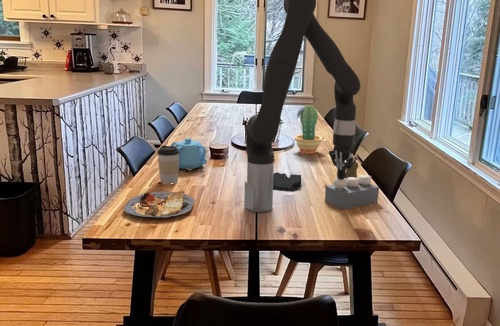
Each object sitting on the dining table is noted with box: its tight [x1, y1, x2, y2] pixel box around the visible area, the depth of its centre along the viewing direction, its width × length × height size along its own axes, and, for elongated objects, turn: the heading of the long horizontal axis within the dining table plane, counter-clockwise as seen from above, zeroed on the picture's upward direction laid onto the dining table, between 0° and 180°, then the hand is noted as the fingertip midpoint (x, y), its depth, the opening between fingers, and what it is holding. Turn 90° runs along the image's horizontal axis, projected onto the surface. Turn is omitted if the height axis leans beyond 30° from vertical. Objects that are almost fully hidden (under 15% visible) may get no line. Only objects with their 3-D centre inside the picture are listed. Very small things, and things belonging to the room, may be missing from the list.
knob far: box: [358, 174, 372, 186], centre depth 171 cm, size 4×4×8 cm
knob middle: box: [347, 177, 359, 188], centre depth 168 cm, size 4×4×8 cm
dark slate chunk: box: [273, 172, 302, 193], centre depth 188 cm, size 15×22×5 cm
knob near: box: [333, 177, 347, 191], centre depth 165 cm, size 4×4×8 cm
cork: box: [345, 161, 359, 179], centre depth 185 cm, size 6×6×11 cm
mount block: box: [324, 184, 380, 211], centre depth 168 cm, size 17×10×6 cm, turn 120°
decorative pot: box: [170, 137, 208, 170], centre depth 209 cm, size 16×16×14 cm
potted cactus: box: [294, 105, 324, 155], centre depth 241 cm, size 15×15×25 cm
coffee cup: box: [157, 145, 180, 185], centre depth 186 cm, size 9×9×15 cm
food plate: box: [123, 190, 196, 218], centre depth 159 cm, size 25×23×4 cm
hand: (340, 178), depth 164 cm, fingers closed
